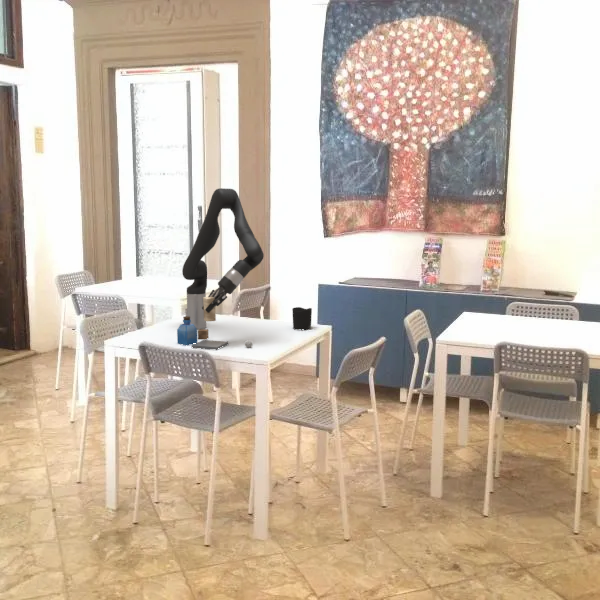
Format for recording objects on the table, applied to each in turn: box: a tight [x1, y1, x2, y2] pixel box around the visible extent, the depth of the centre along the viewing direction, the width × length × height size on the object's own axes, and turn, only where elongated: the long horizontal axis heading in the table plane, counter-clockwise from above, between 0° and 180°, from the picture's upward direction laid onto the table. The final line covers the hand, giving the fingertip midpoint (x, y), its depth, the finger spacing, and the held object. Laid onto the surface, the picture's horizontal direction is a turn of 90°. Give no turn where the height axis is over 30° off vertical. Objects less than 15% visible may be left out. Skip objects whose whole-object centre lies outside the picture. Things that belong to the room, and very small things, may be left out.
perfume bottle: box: [176, 315, 198, 346], centre depth 326 cm, size 6×6×12 cm
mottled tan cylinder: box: [203, 296, 217, 323], centre depth 318 cm, size 4×4×10 cm
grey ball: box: [244, 339, 253, 348], centre depth 318 cm, size 3×3×3 cm
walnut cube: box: [197, 328, 209, 340], centre depth 337 cm, size 4×4×4 cm
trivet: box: [190, 339, 229, 350], centre depth 321 cm, size 12×12×1 cm
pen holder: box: [291, 306, 313, 330], centre depth 359 cm, size 9×9×10 cm
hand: (205, 310), depth 318 cm, fingers closed on mottled tan cylinder, 4 cm apart
